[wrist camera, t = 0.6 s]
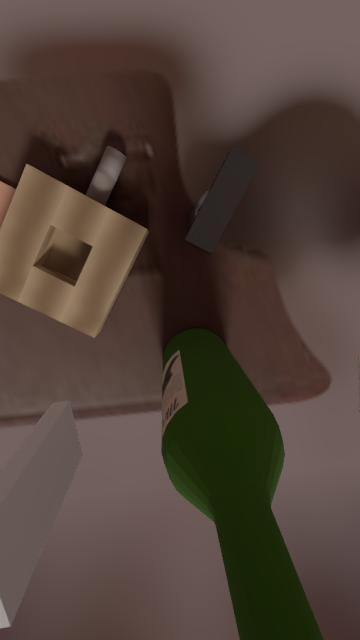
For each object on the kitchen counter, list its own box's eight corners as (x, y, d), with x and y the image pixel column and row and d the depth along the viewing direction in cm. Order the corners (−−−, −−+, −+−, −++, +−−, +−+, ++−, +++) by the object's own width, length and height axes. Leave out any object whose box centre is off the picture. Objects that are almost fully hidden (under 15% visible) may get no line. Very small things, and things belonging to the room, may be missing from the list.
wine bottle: (168, 321, 40) (188, 587, 8) (234, 333, 41) (487, 615, 9) (157, 383, 42) (136, 802, 10) (220, 393, 42) (388, 809, 11)
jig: (-2, 280, 37) (-22, 283, 34) (62, 123, 34) (49, 106, 30) (101, 329, 40) (94, 337, 36) (171, 186, 36) (172, 177, 32)
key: (174, 244, 38) (181, 237, 24) (203, 186, 36) (229, 143, 22) (195, 255, 38) (214, 255, 24) (225, 199, 37) (263, 165, 23)
